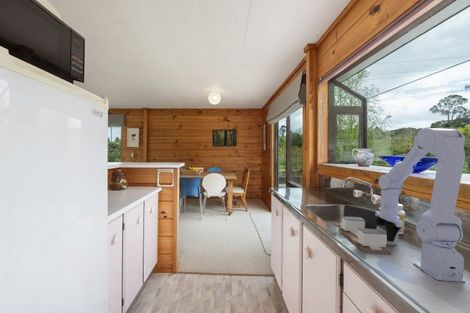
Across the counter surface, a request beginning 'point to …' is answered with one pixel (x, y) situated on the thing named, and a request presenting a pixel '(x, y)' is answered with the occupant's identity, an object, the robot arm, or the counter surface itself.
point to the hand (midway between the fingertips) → (386, 238)
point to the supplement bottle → (401, 217)
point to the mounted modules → (364, 232)
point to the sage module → (386, 232)
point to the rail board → (368, 249)
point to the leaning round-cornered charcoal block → (362, 215)
